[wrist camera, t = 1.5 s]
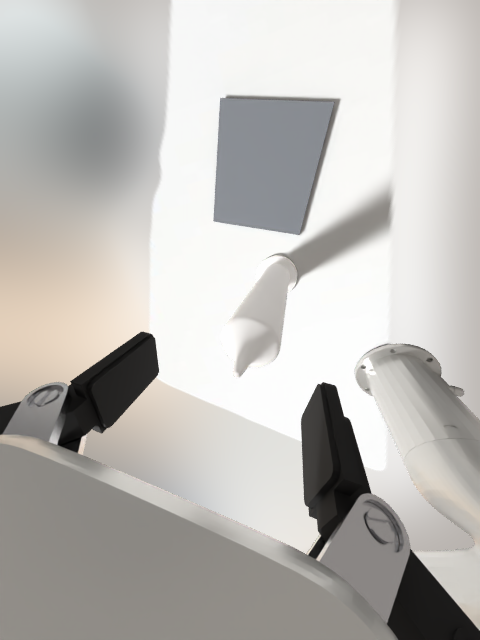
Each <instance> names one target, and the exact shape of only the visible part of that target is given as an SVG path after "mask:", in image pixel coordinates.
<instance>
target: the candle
mask: <svg viewBox="0 0 480 640" xmlns="http://www.w3.org/2000/svg"><path fill="white" fill-rule="evenodd" d="M296 281H297V269H296V267H295V265H294V263H293V262H292V261H291V260H290V259H288V258H286V257H284V256H280V255H275V256H271V257H268V258H266V259H265V260H264V261H263V262H262V263H261V264H260V265H259V267H258V269H257V272H256V283H255V285H254V286H253V287H252V289H251V290H250V291H249V293H248V294H247V296H246V297H245V298H244V300H243V301H242V302H241V304H240V305H239V307H238V308H237V309H236V311H235V312H234V313H233V315H232V316H231V318H230V319H229V320H228V322H227V323H226V325H225V326H224V328H223V330H222V333H221V343H222V347H223V349H224V351H225V353H226V354H227V355H228V356H229V357H230V358H231V359H232V360H233V361H234V367H233V376H234V377H236V378H239V377H241V375H242V374H243V373H244V372H245V370H246V369H247V368H248V367H249V368H259V367H263V366H266V365H268V364H270V363H271V362H273V361H274V360H275V359H276V357H277V355H278V354H279V351H280V346H281V338H282V330H283V323H284V315H285V307H286V300H287V293H289V292H290V291H291V290H292V289H293V288H294V286H295V284H296Z"/></svg>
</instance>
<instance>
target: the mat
mask: <svg viewBox="0 0 480 640" xmlns="http://www.w3.org/2000/svg"><path fill="white" fill-rule="evenodd" d="M333 106H334V102H324V101H294V100H264V99H233V98H220V113H219V132H218V150H217V168H216V186H215V205H214V222H221V223H227V224H233V225H240V226H246V227H252V228H259V229H265V230H271V231H278V232H284V233H290V234H296V235H299V234H300V231H301V227H302V223H303V219H304V215H305V212H306V208H307V204H308V200H309V197H310V193H311V189H312V185H313V181H314V178H315V174H316V170H317V166H318V162H319V159H320V155H321V151H322V147H323V144H324V140H325V136H326V132H327V128H328V125H329V121H330V117H331V113H332V110H333Z"/></svg>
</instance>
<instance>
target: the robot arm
mask: <svg viewBox="0 0 480 640" xmlns="http://www.w3.org/2000/svg"><path fill="white" fill-rule="evenodd" d="M158 373H159V367H158V359H157V351H156V342H155V338H154V337H153V335H152V334H149V333H145V332H140V333H139V334H137V335H136V336H135V337H133V338H132V339H130V340H129V341H127V342H126V343H125V344H123V345H122V346H120V347H119V348H117V349H116V350H115V351H113V352H112V353H110V354H109V355H107V356H106V357H105V358H103V359H102V360H100V361H99V362H97V363H96V364H95V365H93V366H92V367H90V368H89V369H87V370H86V371H85V372H83V373H82V374H80V375H79V376H77V377H76V378H75V379H73V380H72V381H70V382H71V385H69V386H67V384H65V383H61V382H54V383H49V384H45V385H43V386H41V387H38V388H36V389H35V390H33V391H31V392H30V393H29V394H28V395H26V396H25V398H24V399H23V400H22V401H21V402H17V403H14V404H10V405H6V406H2V407H0V640H480V420H479V419H478V418H477V417H476V416H475V415H474V414H473V413H472V412H471V411H470V410H469V409H468V407H467V406H466V405H465V404H464V403H463V402H462V401H461V400H460V399H459V398H458V397H457V396H463V395H464V391H463V389H461V388H458V387H455V386H449V385H448V384H447V383H446V382H445V381H444V380H443V379H442V378H441V366H440V363H439V362H438V361H437V359H436V358H435V357H434V356H433V355H432V354H431V353H429V352H428V351H426V350H425V349H423V348H420V347H418V346H414V345H410V344H390V345H385V346H381V347H378V348H376V349H373V350H371V351H369V352H368V353H367V354H365V355H364V356H363V357H362V358H361V359H360V360H359V361H358V363H357V365H356V367H355V378H356V381H357V383H358V385H359V386H360V388H361V389H362V390H363V391H364V392H366V393H368V394H369V395H371V396H373V397H374V399H375V402H376V404H377V406H378V408H379V410H380V412H381V415H382V417H383V419H384V421H385V423H386V426H387V428H388V430H389V432H390V434H391V436H392V439H393V441H394V443H395V445H396V447H397V450H398V452H399V454H400V456H401V458H402V460H403V463H404V465H405V467H406V469H407V471H408V473H409V475H410V477H411V479H412V481H413V483H414V485H415V486H416V488H417V489H418V491H419V492H420V493H421V494H422V496H423V497H424V498H425V499H426V500H427V501H428V502H429V503H430V504H431V505H432V506H433V507H434V508H435V509H436V510H437V511H439V512H440V513H441V514H442V515H444V516H445V517H446V518H447V519H449V520H450V521H451V522H453V523H454V524H455V525H457V526H458V527H460V528H461V529H462V530H464V531H465V532H466V533H468V534H469V535H470V536H471V537H472V539H473V540H474V546H473V547H471V548H468V549H456V550H453V551H452V550H451V551H412V550H411V549H410V543H409V537H408V534H407V532H406V529H405V527H404V525H403V523H402V522H401V520H400V518H399V517H398V515H397V514H396V513H395V511H394V510H393V509H392V508H391V507H390V506H389V505H388V504H387V503H386V502H385V501H383V500H382V499H381V498H379V497H377V496H376V495H373V494H371V490H370V487H369V483H368V480H367V476H366V473H365V469H364V466H363V463H362V459H361V456H360V452H359V449H358V445H357V442H356V439H355V435H354V432H353V428H352V425H351V422H350V420H349V419H348V418H346V417H344V414H343V411H342V407H341V403H340V399H339V396H338V392H337V388H336V386H335V385H331V384H328V383H324V382H323V383H322V384H321V385H320V384H318V385H317V387H316V389H315V391H314V393H313V395H312V397H311V399H310V401H309V403H308V405H307V407H306V409H305V411H304V413H303V415H302V419H301V431H302V455H303V482H304V501H305V505H306V506H308V507H309V516H310V517H313V518H315V519H317V524H318V532H319V533H320V534H319V536H318V538H317V539H316V540H315V542H314V543H313V545H312V546H311V548H310V549H309V551H308V552H307V554H305V553H303V552H301V551H299V550H297V549H295V548H293V547H291V546H289V545H287V544H285V543H283V542H281V541H278V540H276V539H274V538H272V537H270V536H268V535H265V534H263V533H261V532H259V531H257V530H255V529H252V528H250V527H248V526H246V525H243V524H241V523H239V522H236V521H234V520H232V519H229V518H227V517H225V516H223V515H220V514H218V513H216V512H214V511H211V510H209V509H207V508H204V507H202V506H199V505H197V504H195V503H193V502H191V501H188V500H186V499H183V498H181V497H179V496H177V495H174V494H172V493H170V492H167V491H165V490H163V489H160V488H158V487H155V486H154V485H151V484H149V483H147V482H144V481H142V480H139V479H137V478H135V477H133V476H130V475H128V474H126V473H123V472H121V471H118V470H116V469H114V468H111V467H109V466H107V465H104V464H102V463H100V462H97V461H95V460H93V459H90V458H88V457H85V456H83V452H84V447H85V443H86V438H87V434H88V432H89V431H90V430H91V429H93V430H95V431H97V432H100V433H103V432H104V430H106V428H109V427H111V426H112V425H113V424H114V423H115V422H116V421H117V420H118V418H119V417H120V416H121V415H122V414H123V413H124V412H125V410H127V408H128V407H129V406H130V405H131V404H132V403H133V402H134V401H135V400H136V399H137V397H138V396H139V395H140V394H141V393H142V392H143V391H144V390H145V389H146V388H147V386H148V385H149V384H150V383H151V382H152V381H153V380H154V379H155V378H156V376H157V375H158Z"/></svg>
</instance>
